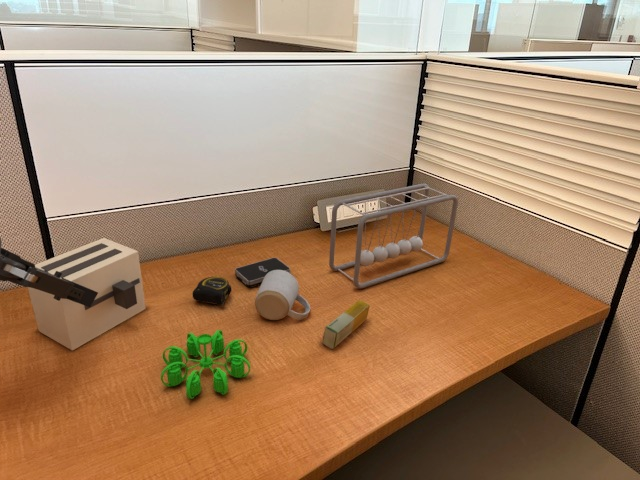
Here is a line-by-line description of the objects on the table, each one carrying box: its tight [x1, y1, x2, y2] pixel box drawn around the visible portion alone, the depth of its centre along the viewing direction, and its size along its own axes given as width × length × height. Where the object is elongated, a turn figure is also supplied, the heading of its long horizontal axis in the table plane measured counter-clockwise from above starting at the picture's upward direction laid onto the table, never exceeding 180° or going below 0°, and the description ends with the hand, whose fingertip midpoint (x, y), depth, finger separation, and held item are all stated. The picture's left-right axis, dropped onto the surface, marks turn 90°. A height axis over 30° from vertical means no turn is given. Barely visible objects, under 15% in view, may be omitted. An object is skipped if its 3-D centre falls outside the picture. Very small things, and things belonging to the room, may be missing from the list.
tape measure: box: [192, 276, 232, 306], centre depth 100 cm, size 7×7×4 cm
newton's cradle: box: [328, 183, 459, 290], centre depth 113 cm, size 30×10×18 cm, turn 124°
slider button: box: [112, 280, 137, 309], centre depth 88 cm, size 3×2×4 cm
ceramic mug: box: [254, 270, 311, 321], centre depth 95 cm, size 11×8×8 cm
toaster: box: [27, 237, 146, 351], centre depth 89 cm, size 10×16×13 cm, turn 149°
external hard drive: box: [234, 257, 291, 288], centre depth 109 cm, size 7×11×2 cm, turn 126°
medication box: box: [321, 299, 371, 350], centre depth 91 cm, size 12×3×4 cm, turn 144°
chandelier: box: [160, 329, 251, 400], centre depth 79 cm, size 15×15×7 cm
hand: (91, 298), depth 81 cm, fingers closed
